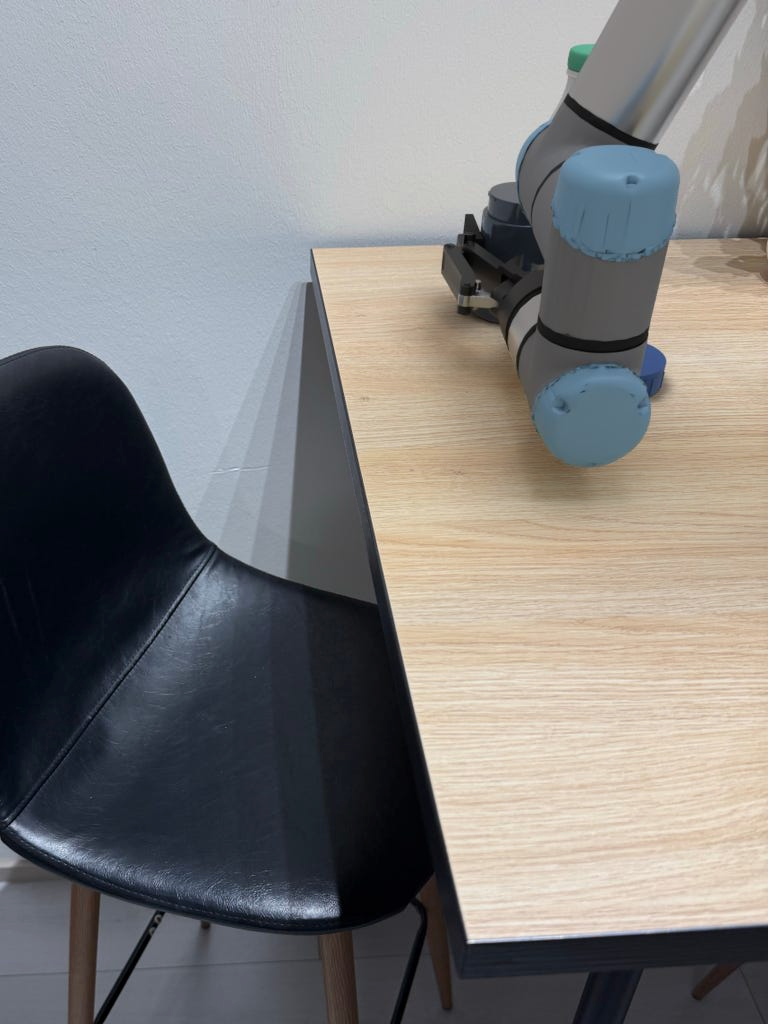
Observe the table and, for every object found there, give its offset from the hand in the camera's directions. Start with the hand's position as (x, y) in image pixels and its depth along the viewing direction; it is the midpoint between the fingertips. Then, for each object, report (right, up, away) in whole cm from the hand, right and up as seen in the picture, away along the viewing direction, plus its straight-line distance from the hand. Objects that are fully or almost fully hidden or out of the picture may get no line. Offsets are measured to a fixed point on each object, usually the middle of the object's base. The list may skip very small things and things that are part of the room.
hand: (507, 228), depth 99 cm
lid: (+7, -16, -12) cm, 21 cm away
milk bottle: (+7, -1, +8) cm, 11 cm away
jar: (0, -8, 0) cm, 8 cm away
